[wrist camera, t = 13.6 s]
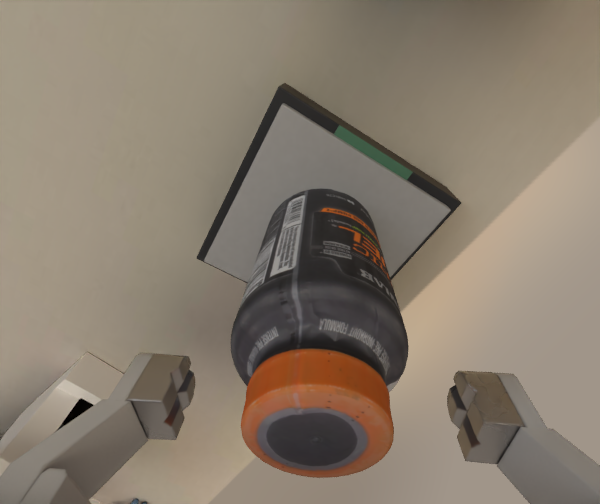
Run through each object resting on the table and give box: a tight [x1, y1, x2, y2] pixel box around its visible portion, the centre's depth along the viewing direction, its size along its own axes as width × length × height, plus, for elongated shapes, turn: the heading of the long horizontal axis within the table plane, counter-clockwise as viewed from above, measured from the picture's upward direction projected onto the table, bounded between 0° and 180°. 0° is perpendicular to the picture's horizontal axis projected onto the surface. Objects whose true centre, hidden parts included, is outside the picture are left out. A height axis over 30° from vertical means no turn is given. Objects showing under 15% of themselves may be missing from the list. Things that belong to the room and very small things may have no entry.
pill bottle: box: [231, 188, 408, 478], centre depth 13 cm, size 6×6×11 cm
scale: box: [197, 83, 461, 283], centre depth 19 cm, size 11×11×3 cm
